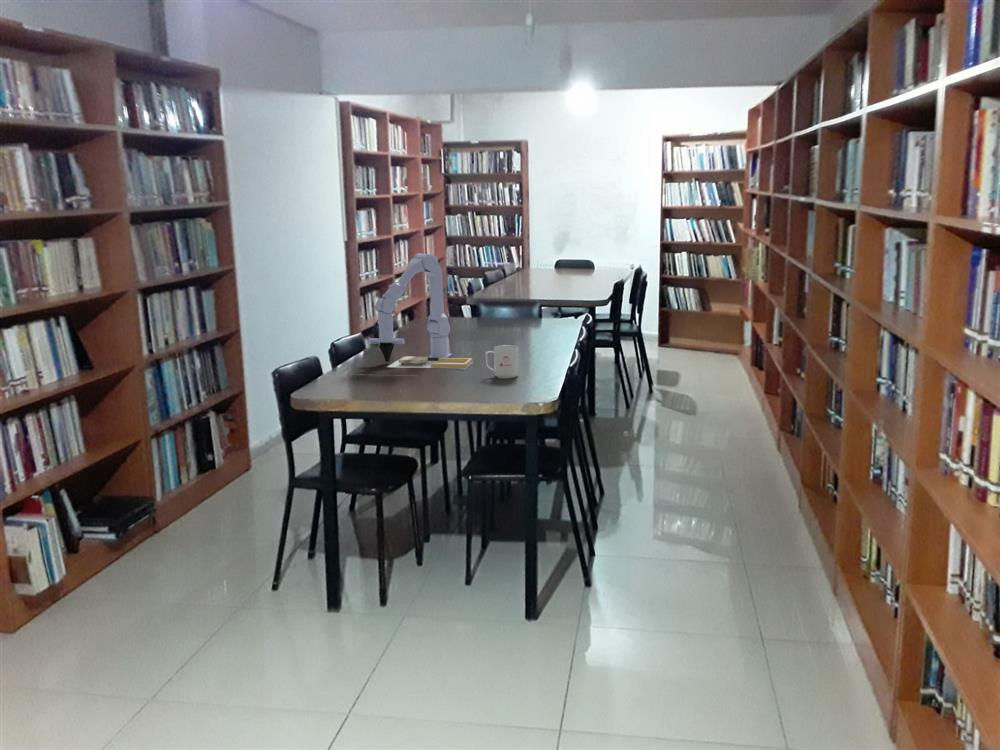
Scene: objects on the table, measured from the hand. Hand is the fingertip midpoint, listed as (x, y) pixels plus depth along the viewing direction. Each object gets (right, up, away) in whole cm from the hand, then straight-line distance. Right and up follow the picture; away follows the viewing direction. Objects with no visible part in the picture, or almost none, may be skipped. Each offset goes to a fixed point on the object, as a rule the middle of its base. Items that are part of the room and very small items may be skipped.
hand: (387, 361), depth 355 cm
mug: (+46, -6, -27) cm, 54 cm away
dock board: (+18, -2, -3) cm, 18 cm away
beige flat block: (+11, -1, -2) cm, 11 cm away
